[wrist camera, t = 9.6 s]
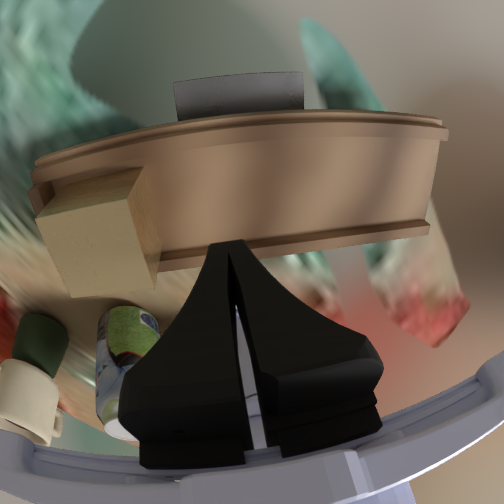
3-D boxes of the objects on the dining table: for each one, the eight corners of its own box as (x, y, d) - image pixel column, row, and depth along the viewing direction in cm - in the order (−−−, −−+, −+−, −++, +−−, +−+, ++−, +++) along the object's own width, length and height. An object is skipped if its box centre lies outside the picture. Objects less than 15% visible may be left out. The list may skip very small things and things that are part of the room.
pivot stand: (201, 250, 24) (202, 275, 21) (174, 82, 16) (169, 85, 14) (299, 237, 24) (311, 258, 22) (299, 71, 17) (314, 73, 14)
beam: (89, 259, 20) (74, 295, 17) (51, 149, 15) (21, 172, 12) (405, 217, 22) (432, 245, 19) (421, 111, 17) (458, 127, 14)
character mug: (-1, 302, 23) (-42, 399, 13) (32, 284, 23) (-15, 399, 12) (58, 360, 30) (39, 452, 19) (96, 350, 29) (80, 455, 19)
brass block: (90, 254, 17) (72, 297, 14) (65, 184, 14) (34, 219, 11) (162, 244, 18) (155, 289, 14) (143, 166, 15) (126, 198, 11)
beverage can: (90, 306, 25) (63, 419, 16) (154, 287, 25) (143, 414, 15) (122, 344, 29) (111, 447, 19) (182, 330, 29) (185, 443, 19)
